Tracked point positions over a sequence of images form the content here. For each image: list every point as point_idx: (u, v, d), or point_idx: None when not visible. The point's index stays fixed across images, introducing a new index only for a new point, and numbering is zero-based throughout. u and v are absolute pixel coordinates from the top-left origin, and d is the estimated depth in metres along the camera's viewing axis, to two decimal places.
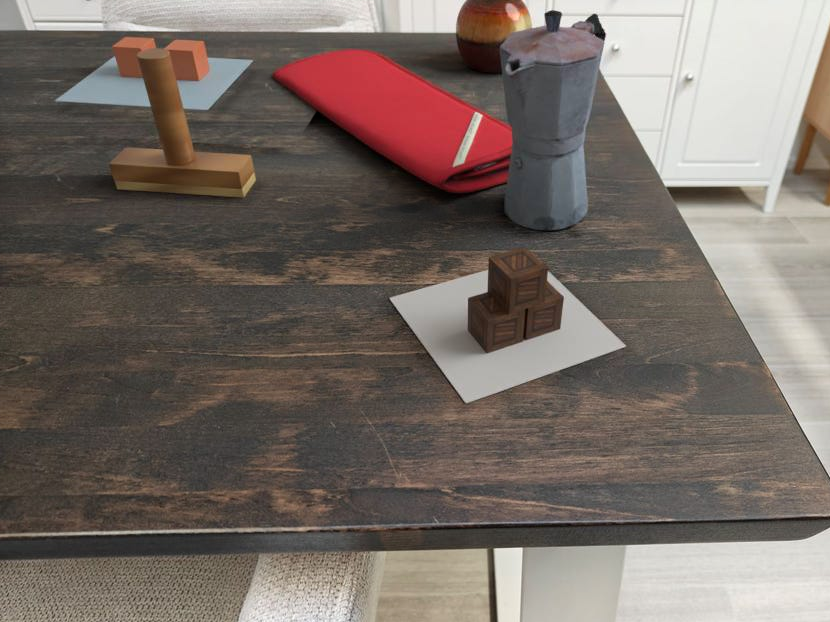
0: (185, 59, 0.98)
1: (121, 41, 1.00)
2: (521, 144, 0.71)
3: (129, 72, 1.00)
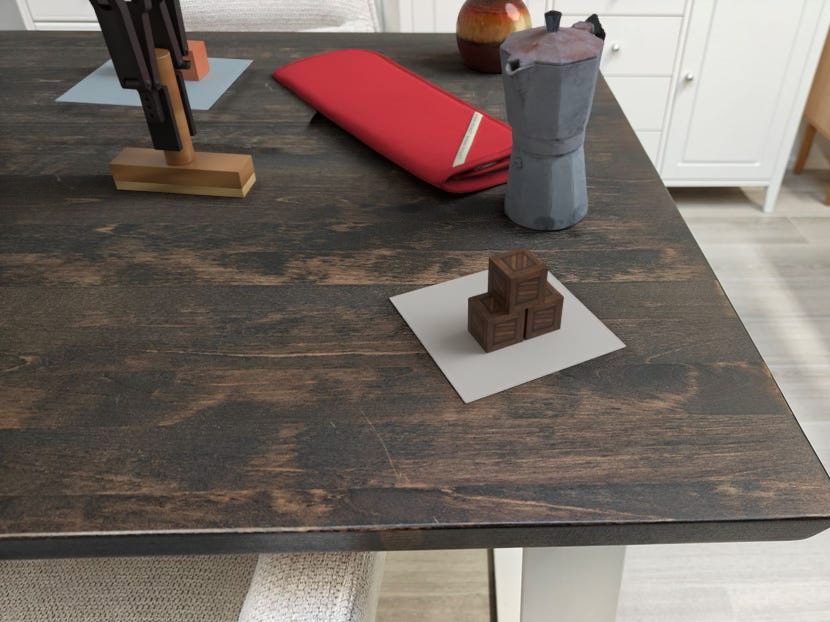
0: (185, 59, 0.98)
1: None
2: (521, 144, 0.71)
3: None
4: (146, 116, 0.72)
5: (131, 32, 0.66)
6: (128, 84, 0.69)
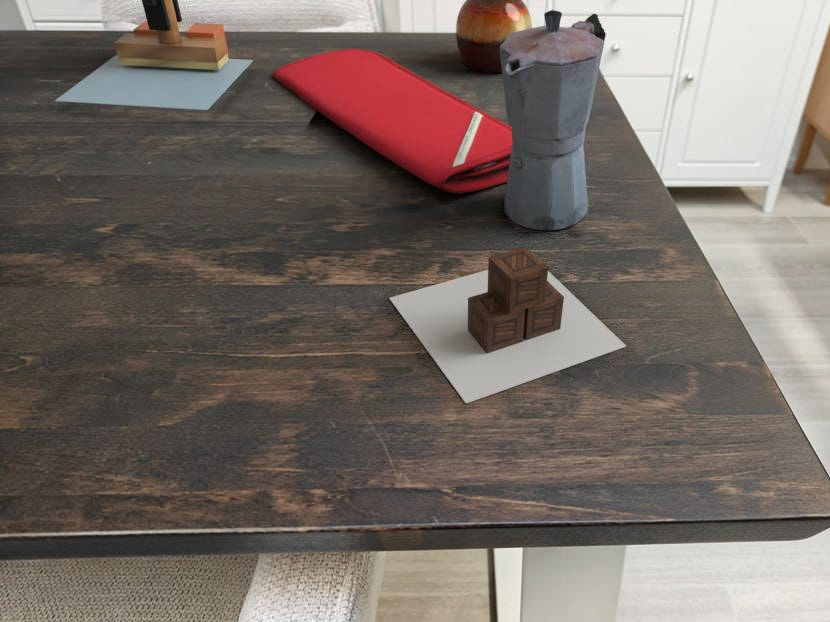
0: None
1: (141, 25, 1.05)
2: (521, 144, 0.71)
3: None
4: None
5: None
6: None
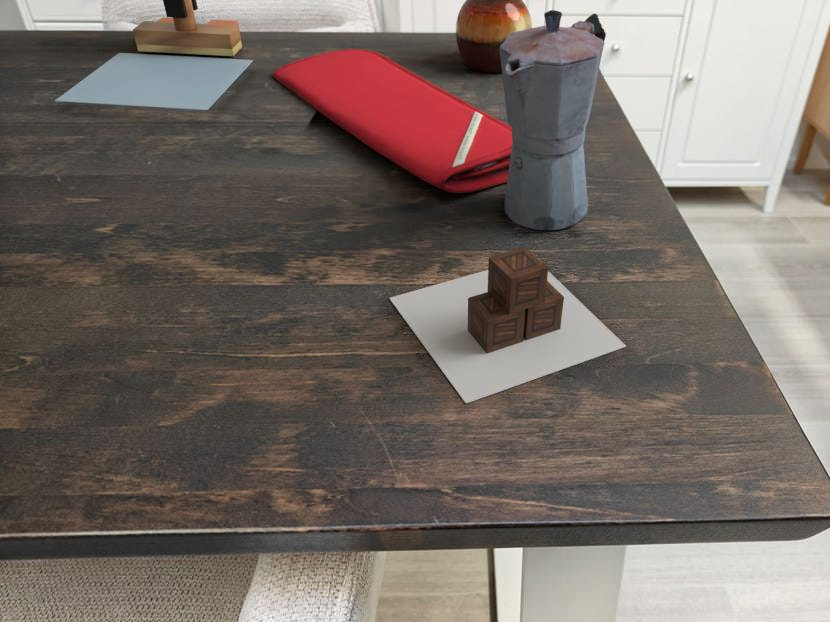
0: None
1: (159, 21, 1.10)
2: (521, 144, 0.71)
3: None
4: None
5: None
6: None
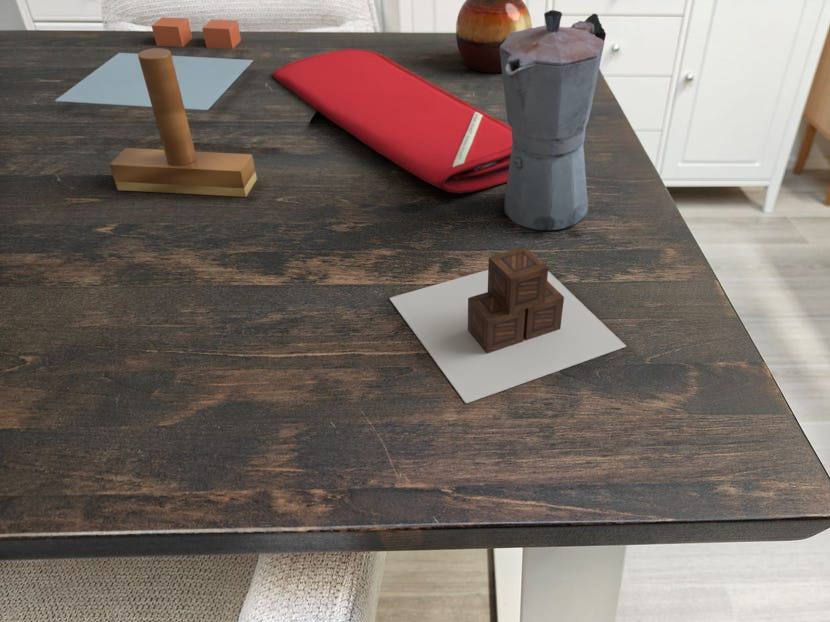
0: (222, 36, 1.09)
1: (159, 21, 1.10)
2: (521, 144, 0.71)
3: None
4: None
5: None
6: None
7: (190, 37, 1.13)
